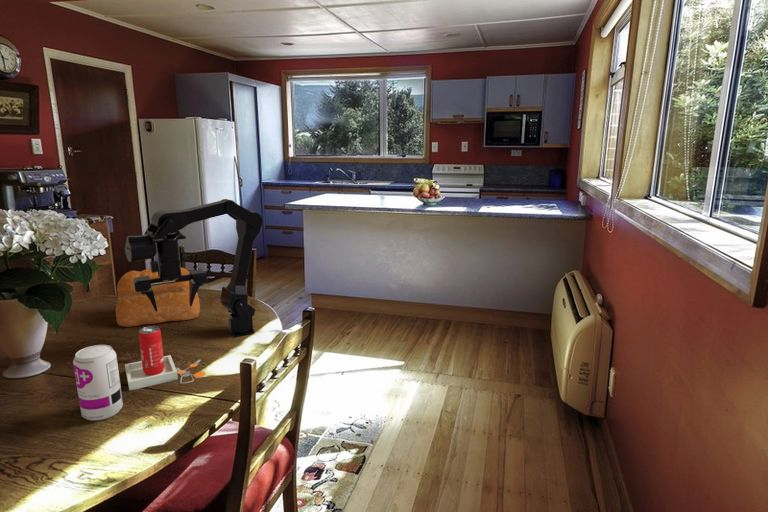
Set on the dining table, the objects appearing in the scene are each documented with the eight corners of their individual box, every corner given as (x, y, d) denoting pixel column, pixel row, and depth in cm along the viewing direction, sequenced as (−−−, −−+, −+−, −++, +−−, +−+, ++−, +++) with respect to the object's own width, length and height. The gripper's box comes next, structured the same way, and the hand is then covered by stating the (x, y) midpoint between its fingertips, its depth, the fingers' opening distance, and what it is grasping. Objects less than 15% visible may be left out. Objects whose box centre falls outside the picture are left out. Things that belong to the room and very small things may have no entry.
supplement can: (94, 426, 103) (84, 363, 99) (74, 414, 107) (64, 353, 103) (130, 409, 109) (122, 349, 106) (110, 398, 114) (102, 340, 110)
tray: (171, 362, 132) (170, 355, 132) (177, 379, 123) (177, 371, 123) (125, 371, 127) (124, 364, 126) (129, 390, 117) (128, 382, 117)
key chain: (206, 380, 123) (206, 377, 123) (176, 386, 120) (176, 383, 120) (202, 360, 135) (202, 357, 134) (174, 365, 132) (174, 362, 131)
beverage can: (156, 377, 123) (152, 334, 120) (138, 375, 124) (133, 332, 121) (168, 368, 128) (164, 326, 125) (151, 366, 128) (146, 325, 126)
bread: (120, 314, 168) (114, 267, 164) (199, 305, 177) (195, 260, 173) (114, 330, 154) (108, 279, 149) (201, 320, 163) (196, 271, 159)
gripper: (197, 246, 144) (201, 295, 148) (128, 253, 135) (135, 305, 139) (205, 254, 135) (209, 306, 139) (132, 262, 126) (138, 317, 129)
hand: (173, 308), depth 137 cm, fingers open, 9 cm apart
